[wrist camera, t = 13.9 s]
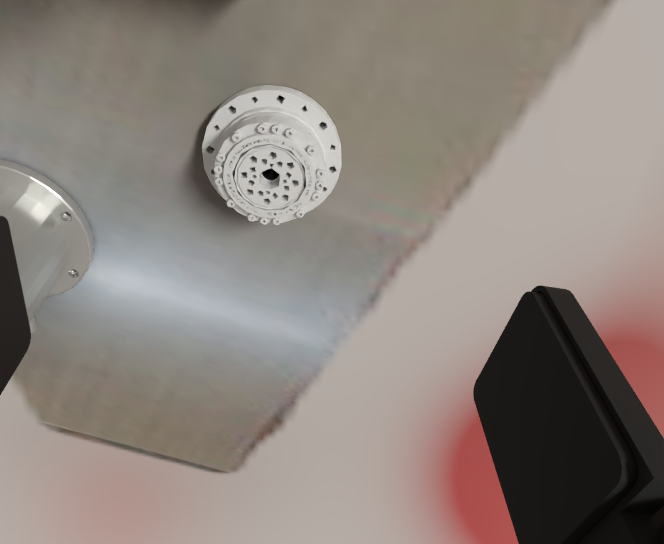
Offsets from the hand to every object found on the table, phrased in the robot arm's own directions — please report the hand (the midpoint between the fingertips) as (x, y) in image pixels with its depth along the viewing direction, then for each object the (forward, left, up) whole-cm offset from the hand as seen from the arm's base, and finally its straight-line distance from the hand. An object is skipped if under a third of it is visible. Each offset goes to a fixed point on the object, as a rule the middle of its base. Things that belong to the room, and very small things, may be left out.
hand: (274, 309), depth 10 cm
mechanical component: (-10, +1, -29) cm, 30 cm away
